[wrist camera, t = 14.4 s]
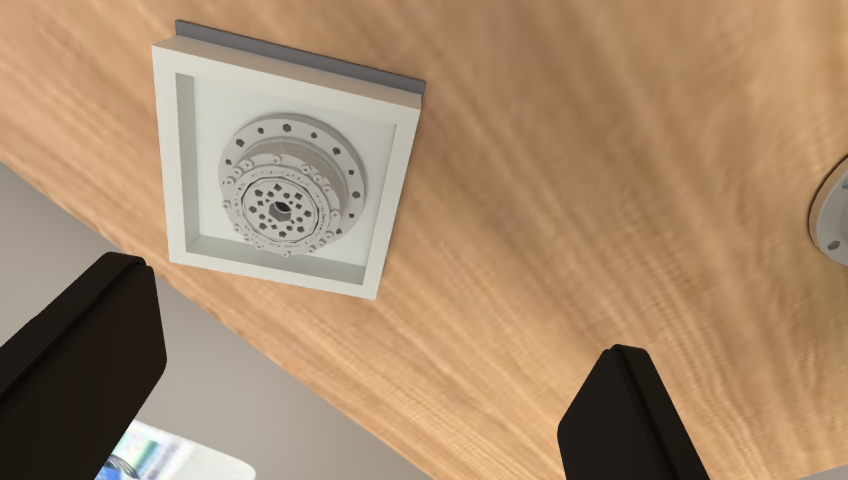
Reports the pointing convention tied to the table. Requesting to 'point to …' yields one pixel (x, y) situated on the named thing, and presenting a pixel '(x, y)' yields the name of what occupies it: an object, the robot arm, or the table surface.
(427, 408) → the table surface
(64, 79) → the table surface
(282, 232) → the mechanical component
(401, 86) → the grey flat plate
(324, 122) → the tray
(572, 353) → the table surface
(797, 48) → the table surface
